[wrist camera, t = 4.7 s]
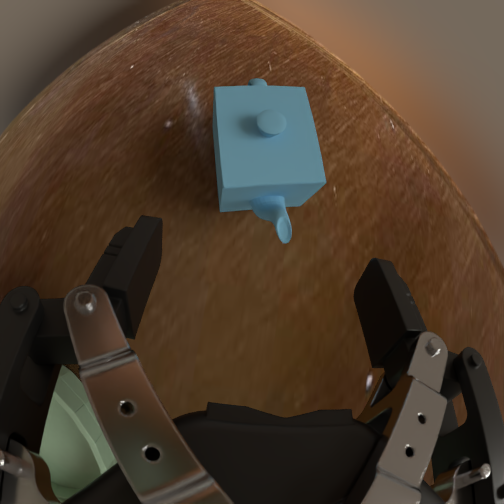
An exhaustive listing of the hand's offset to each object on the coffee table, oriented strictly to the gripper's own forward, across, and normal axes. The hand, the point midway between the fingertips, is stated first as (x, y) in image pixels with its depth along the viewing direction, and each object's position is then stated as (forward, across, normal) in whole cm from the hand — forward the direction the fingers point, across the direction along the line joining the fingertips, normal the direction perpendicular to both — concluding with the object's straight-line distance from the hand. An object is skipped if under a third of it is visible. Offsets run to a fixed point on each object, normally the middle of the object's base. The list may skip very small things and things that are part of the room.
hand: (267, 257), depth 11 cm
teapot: (+13, 0, +3) cm, 13 cm away
